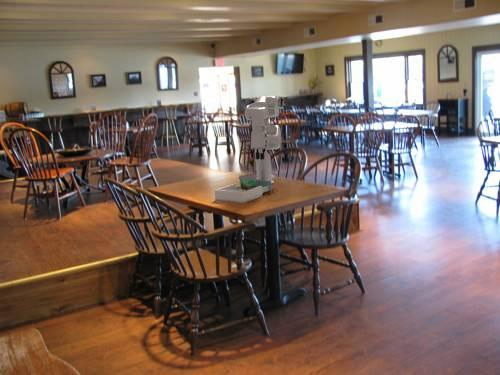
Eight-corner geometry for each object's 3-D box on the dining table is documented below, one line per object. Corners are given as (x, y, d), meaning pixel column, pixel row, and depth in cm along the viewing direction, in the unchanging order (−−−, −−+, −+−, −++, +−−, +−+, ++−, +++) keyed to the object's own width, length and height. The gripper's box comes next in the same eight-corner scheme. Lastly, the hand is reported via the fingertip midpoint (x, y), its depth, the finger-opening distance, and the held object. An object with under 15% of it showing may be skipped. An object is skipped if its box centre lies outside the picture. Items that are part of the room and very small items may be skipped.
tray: (244, 188, 317) (243, 178, 316) (271, 190, 305) (271, 180, 304) (226, 194, 303) (225, 184, 301) (254, 196, 291) (253, 186, 290)
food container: (246, 193, 297) (245, 176, 295) (239, 192, 301) (238, 175, 299) (261, 189, 305) (261, 173, 303) (254, 188, 309) (253, 172, 307)
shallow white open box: (234, 193, 309) (234, 183, 308) (262, 196, 298) (261, 186, 297) (215, 200, 294) (214, 190, 293) (243, 203, 283) (243, 192, 282)
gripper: (273, 128, 306) (274, 158, 310) (251, 128, 315) (252, 158, 319) (266, 129, 300) (268, 160, 304) (244, 129, 309) (245, 159, 313)
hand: (260, 159), depth 311 cm, fingers open, 2 cm apart
